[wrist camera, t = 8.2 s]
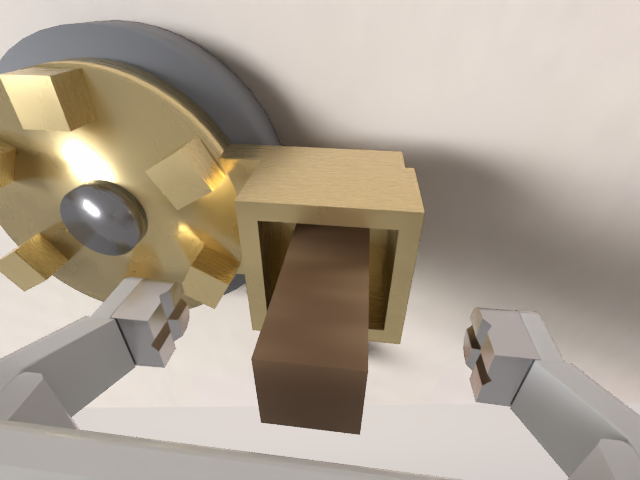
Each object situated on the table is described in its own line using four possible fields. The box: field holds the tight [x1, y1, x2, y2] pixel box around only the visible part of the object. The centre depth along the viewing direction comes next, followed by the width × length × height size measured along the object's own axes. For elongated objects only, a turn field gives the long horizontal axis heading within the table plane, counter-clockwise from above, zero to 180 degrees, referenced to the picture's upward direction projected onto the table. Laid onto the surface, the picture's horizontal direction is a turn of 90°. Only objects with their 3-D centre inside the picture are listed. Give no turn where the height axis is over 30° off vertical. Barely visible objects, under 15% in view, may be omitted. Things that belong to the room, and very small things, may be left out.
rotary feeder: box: [0, 57, 425, 344], centre depth 14 cm, size 17×11×4 cm, turn 90°
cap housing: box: [0, 20, 281, 295], centre depth 18 cm, size 16×18×3 cm
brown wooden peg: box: [252, 223, 370, 434], centre depth 11 cm, size 2×2×7 cm
